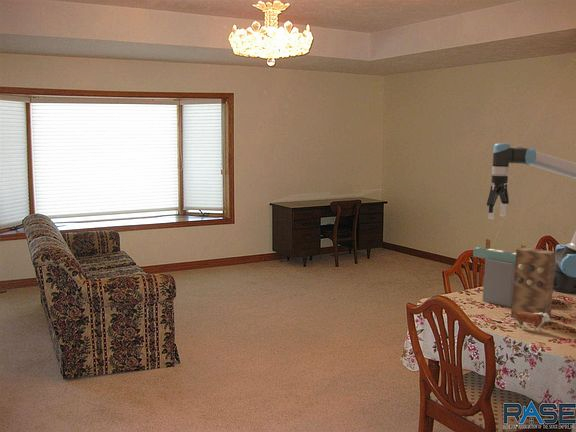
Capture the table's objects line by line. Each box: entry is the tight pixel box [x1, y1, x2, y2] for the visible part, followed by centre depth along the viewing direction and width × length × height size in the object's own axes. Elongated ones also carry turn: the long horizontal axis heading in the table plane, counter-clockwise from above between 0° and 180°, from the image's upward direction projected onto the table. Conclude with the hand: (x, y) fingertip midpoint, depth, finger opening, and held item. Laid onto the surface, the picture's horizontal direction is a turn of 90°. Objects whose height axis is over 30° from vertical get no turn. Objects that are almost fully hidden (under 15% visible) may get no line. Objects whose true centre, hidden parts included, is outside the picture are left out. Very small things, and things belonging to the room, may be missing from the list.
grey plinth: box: [482, 258, 515, 308], centre depth 288 cm, size 13×8×20 cm, turn 48°
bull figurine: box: [515, 311, 551, 333], centre depth 250 cm, size 4×13×8 cm, turn 58°
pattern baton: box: [472, 246, 516, 264], centre depth 287 cm, size 24×4×4 cm, turn 48°
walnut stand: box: [510, 246, 556, 326], centre depth 262 cm, size 14×8×30 cm, turn 48°
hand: (496, 218), depth 306 cm, fingers open, 13 cm apart
